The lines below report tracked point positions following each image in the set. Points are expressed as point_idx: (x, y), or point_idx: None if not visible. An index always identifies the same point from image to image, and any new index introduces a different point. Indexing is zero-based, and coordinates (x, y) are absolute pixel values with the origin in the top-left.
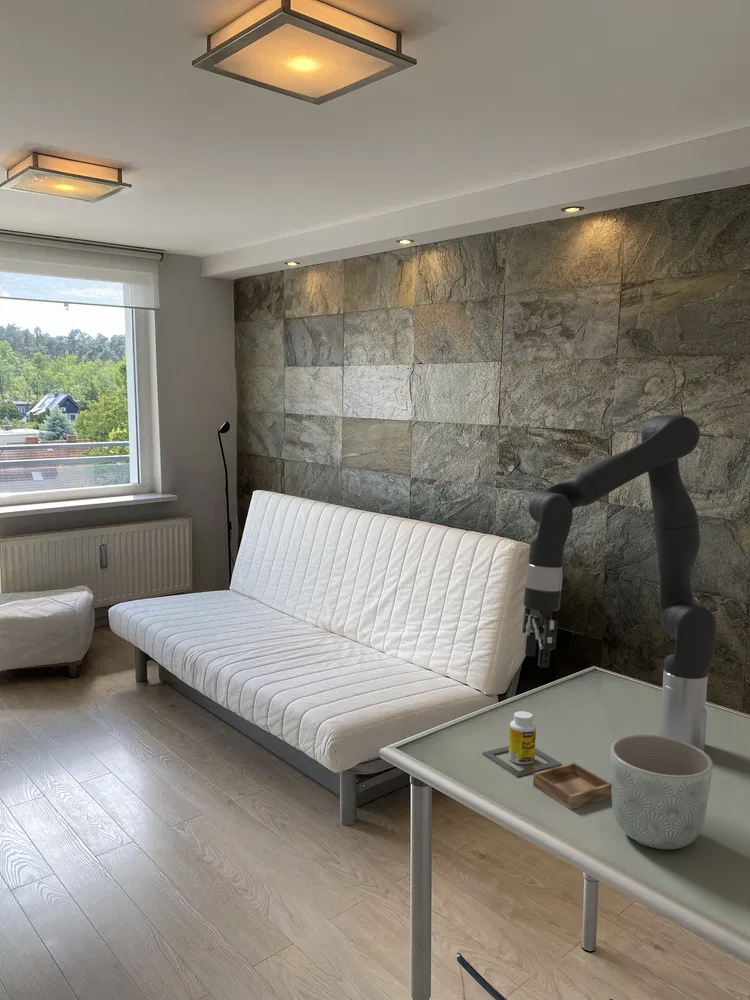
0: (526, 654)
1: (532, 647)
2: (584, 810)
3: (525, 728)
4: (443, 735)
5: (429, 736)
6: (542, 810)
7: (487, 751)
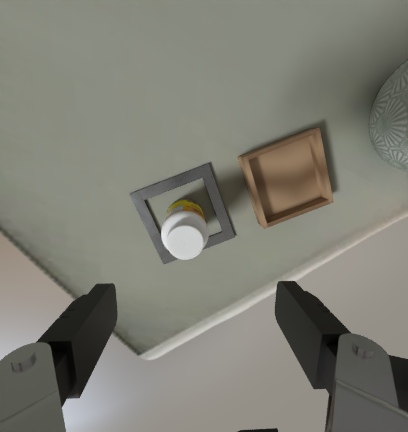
0: (115, 322)
1: (97, 323)
2: None
3: (206, 237)
4: None
5: None
6: (314, 230)
7: (160, 257)
